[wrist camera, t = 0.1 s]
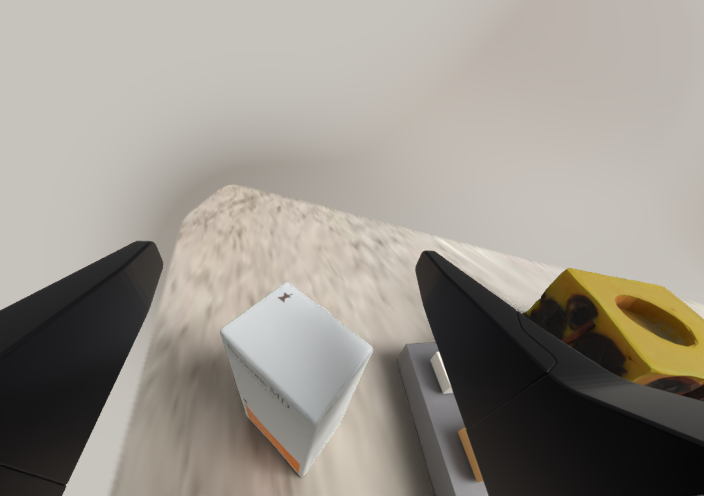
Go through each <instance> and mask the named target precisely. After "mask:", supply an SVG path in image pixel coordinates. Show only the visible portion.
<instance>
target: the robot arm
mask: <svg viewBox="0 0 704 496" xmlns="http://www.w3.org/2000/svg"><path fill="white" fill-rule="evenodd" d="M162 269H163V261H162V258H161V256H160V253H159V251H158V249H157V247H156V244H155V243H154V242H152V241H136V242H133V243H131V244H129V245H128V246H126V247H124V248H122V249H120V250H118V251H116V252H114V253H112V254H110V255H108V256H106V257H104V258H102V259H100V260H98V261H96V262H94V263H92V264H90V265H88V266H87V267H85V268H82V269H81V270H79V271H77V272H75V273H73V274H71V275H69V276H67V277H65V278H63V279H61V280H59V281H57V282H55V283H53V284H51V285H49V286H47V287H45V288H43V289H41V290H39V291H37V292H35V293H34V294H31V295H30V296H28V297H26V298H24V299H22V300H20V301H18V302H16V303H14V304H12V305H10V306H8V307H6V308H4V309H2V310H0V496H62V494H63V492H64V490H65V488H66V484H67V483H68V481H69V479H70V477H71V475H72V473H73V470H74V469H75V466H76V464H77V462H78V460H79V458H80V456H81V454H82V452H83V450H84V447H85V445H86V443H87V441H88V439H89V437H90V435H91V432H92V430H93V428H94V426H95V424H96V422H97V420H98V418H99V416H100V413H101V411H102V409H103V407H104V405H105V403H106V401H107V398H108V396H109V394H110V392H111V390H112V388H113V386H114V384H115V382H116V380H117V377H118V375H119V373H120V371H121V369H122V367H123V365H124V363H125V360H126V358H127V356H128V354H129V352H130V350H131V348H132V346H133V343H134V341H135V339H136V337H137V335H138V333H139V331H140V329H141V327H142V324H143V322H144V320H145V318H146V316H147V313H148V311H149V308H150V306H151V303H152V299H153V297H154V293H155V290H156V287H157V284H158V281H159V278H160V275H161V272H162ZM415 270H416V276H417V280H418V285H419V289H420V294H421V298H422V302H423V306H424V309H425V312H426V315H427V318H428V321H429V324H430V327H431V330H432V333H433V336H434V339H435V341H436V344H437V347H438V350H439V353H440V356H441V359H442V362H443V365H444V368H445V370H446V373H447V376H448V379H449V382H450V385H451V388H452V391H453V394H454V397H455V400H456V402H457V405H458V408H459V411H460V414H461V417H462V420H463V423H464V426H465V428H466V432H467V435H468V438H469V441H470V444H471V447H472V449H473V452H474V455H475V458H476V461H477V464H478V467H479V470H480V473H481V476H482V478H483V481H484V484H485V487H486V490H487V493H488V496H704V402H703V401H699V400H696V399H692V398H688V397H684V396H681V395H677V394H673V393H670V392H666V391H662V390H658V389H655V388H651V387H647V386H644V385H640V384H637V383H634V382H631V381H628V380H626V379H623V378H621V377H619V376H617V375H615V374H613V373H611V372H609V371H608V370H606V369H604V368H603V367H601V366H599V365H598V364H596V363H595V362H593V361H592V360H590V359H589V358H587V357H585V356H584V355H582V354H581V353H579V352H578V351H576V350H575V349H573V348H571V347H570V346H568V345H567V344H565V343H564V342H562V341H561V340H559V339H558V338H556V337H554V336H553V335H551V334H550V333H548V332H547V331H545V330H544V329H542V328H541V327H540V326H538V325H537V324H535V323H534V322H532V321H531V320H529V319H528V318H527V317H525V316H524V315H523V314H521V313H520V312H518V311H516V310H515V309H514V308H513V307H511V306H510V305H509V304H507V303H506V302H504V301H503V300H502V299H500V298H499V297H497V296H496V295H495V294H493V293H492V292H491V291H489V290H488V289H486V288H485V287H484V286H482V285H481V284H479V283H478V282H477V281H475V280H474V279H472V278H471V277H470V276H468V275H467V274H465V273H464V272H463V271H461V270H460V269H459V268H457V267H456V266H454V265H453V264H452V263H450V262H449V261H447V260H446V259H445V258H443V257H442V256H440V255H439V254H438V253H436V252H435V251H423V252H422V254H421V256H420V258H419V260H418V262H417V265H416V269H415Z"/></svg>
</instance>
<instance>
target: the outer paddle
mask: <svg viewBox="0 0 704 496" xmlns="http://www.w3.org/2000/svg"><path fill="white" fill-rule="evenodd" d="M430 361H431V364H432V366H433V369H434V371H435V374H436V377H437V379H438V382H439V384H440V387H441V390H442V392H443V394H447V393H453V391H452V388H451V385H450V382H449V379H448V376H447V373H446V370H445V368H444V365H443V362H442V359H441V356H440V353H439V352H436V353H435V355H434V356H433V357H432V359H431V360H430Z"/></svg>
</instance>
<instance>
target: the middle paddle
mask: <svg viewBox="0 0 704 496" xmlns="http://www.w3.org/2000/svg"><path fill="white" fill-rule="evenodd" d="M458 434H459V436H460V439H461V442H462V444H463V447H464V449H465V452H466V455H467V457H468V460H469V463H470V465H471V468H472V470H473V473H474V476H475V478H476V481H477V483H479V482H484V481H483V478H482V476H481V473H480V470H479V467H478V464H477V461H476V458H475V455H474V452H473V449H472V447H471V444H470V441H469V438H468V435H467V432H466V428H465V427H464V428H462V429H461V430H460V431H458Z"/></svg>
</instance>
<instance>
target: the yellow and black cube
mask: <svg viewBox="0 0 704 496" xmlns="http://www.w3.org/2000/svg"><path fill="white" fill-rule="evenodd" d="M523 315H524V316H525V317H527V318H528V319H529V320H531V321H532V322H534V323H535V324H537V325H538V326H540V327H541V328H542V329H544V330H545V331H547V332H548V333H550V334H551V335H553V336H554V337H556V338H558V339H559V340H561V341H562V342H564V343H565V344H567V345H568V346H570V347H571V348H573V349H575V350H576V351H578V352H579V353H581V354H582V355H584V356H585V357H587V358H589V359H590V360H592V361H593V362H595V363H596V364H598V365H599V366H601V367H603V368H604V369H606V370H608V371H609V372H611V373H613V374H615V375H617V376H619V377H621V378H623V379H626V380H628V381H631V382H634V383H637V384H640V385H644V386H647V387H651V388H655V389H658V390H662V391H666V392H670V393H673V394H677V395H681V396H684V397H688V398H692V399H696V400H699V401H703V402H704V319H703V318H702V317H700V316H699V315H698V314H697V313H696V312H694V311H693V310H692V309H691V308H690V307H688V306H687V305H686V304H685V303H684V302H682V301H681V300H680V299H679V298H677V297H676V296H675V295H674V294H672V293H671V292H670V291H669V290H667V289H666V288H665V287H662V286H658V285H654V284H648V283H644V282H639V281H634V280H627V279H622V278H617V277H611V276H606V275H601V274H597V273H592V272H586V271H581V270H577V269H572V268H568V269H566V270H565V271H564V272H562V273H561V274H560V275H559V276H558V277H557V278H556V279H555V281H554V282H553V283H552V284H551V285H550V286H549V287H548V288H547V289H546V290H545V292H544V293H543V295H542V296H541V299H539V300H538V301H536V302H535V304H534V305H533V306H532V307H531V308H530V310H528V311H527V312H525V313H523Z"/></svg>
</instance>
